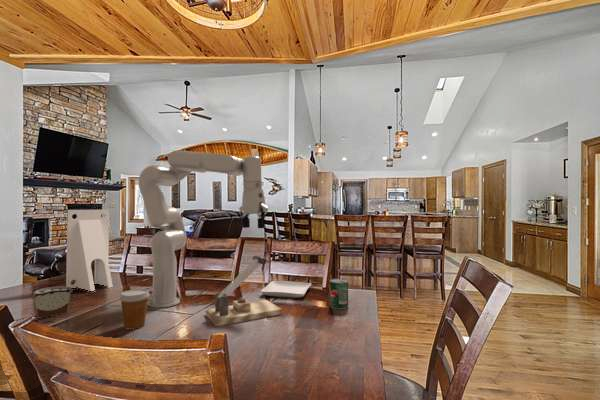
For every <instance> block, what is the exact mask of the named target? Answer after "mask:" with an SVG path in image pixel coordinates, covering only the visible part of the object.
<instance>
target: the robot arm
mask: <svg viewBox="0 0 600 400" xmlns="http://www.w3.org/2000/svg"><path fill="white" fill-rule="evenodd" d="M167 163H168V165H169V167H167V166H164V165H163V166H162V165H157V164H156V165H154V164H153V165H148V166H147V167H145V168H143V170H142V171H141V173H140V174H139V178H138V187H139V191H140V194H141V197H142V199H143V204H144V208H145V212H146V215H147V216H146V217H147V219H148V222H149V224H150V226H151V227H152V228H155V229H164V230H160V231H158V232H155V234H154V235H153V236H152V237H151V240H150V247H151V248H150V249H151V254H152V292H151V293H150V296H149V298H148V304H147V306H149V307H150V308H157V309H158V308H159V309H161V308H169V307H172V306H177V305H178V304H180V303H181V299H180V298H179V297H177V276H178V275H177V272H178V269H177V267H178V266H177V265H178V261H177V257H176V253H175V251H179V250H181V249H182V248H184V247H185V246H186V244H187V241H188V237H187V232H186V229H185V225H184V221H183V218H182V215H181V213H180V211H179V210H178V209H177V208H175V207H173V206H167V202H166V199H165V195H164V193H163V192H162V190H161V188H160V186H164V187H172V186H175V185H176V184H178V183H179V182H181V181H183V180H184V179H185V178H186V177H187V176H188V175H190V174H191V173H193V172H194V173H201V174H202V173H203V174H204V173H206V172H212V173H218V174H227V175H230V176H231V175H232V176H235V177H239V176H242V179H243V181H242V182H243V183H242V185H243V187H242V189H243V191H242V201H241V206H240V207H239V212H240V213H239V214H240V215H241V219H242V228H243V229H245V228H246V229H248V228H250V225H251V223H250V215H251V214H252V215H253V214H254V215H255V214H256V216H257V217H258V218H257V229H264V228H266V226H265V224H266V221H265V220H266V217H267V215H268V210H269V207H268V206H267V205H266V199H265V198H266V197H265V193H264V189H262V188H263V187H262V186H263V184H262V159H261V158H260V157H259V156H256V155H250V156H245V157H243V158H239V157H236V156H234V155H231V154H224V153H211V152H201V151H191V150H189V151H188V150H183V149H181V150H179V149H177V150H173V151H170V152H169V154H168V156H167Z"/></svg>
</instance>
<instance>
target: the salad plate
mask: <svg viewBox="0 0 600 400" xmlns="http://www.w3.org/2000/svg"><path fill="white" fill-rule="evenodd" d="M311 286H312V282H301V281H285V280H272V281H270V282H269V283H268V284H267V285H266V286H264V287H263V288H262V289H261V290H260V292H261V294H263V295H265V296H269V297H280V298H293V299H297V298H302V297H304V296H305V295H306V292H307V290H308V289H309V288H310V287H311Z"/></svg>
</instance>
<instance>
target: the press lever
mask: <svg viewBox="0 0 600 400" xmlns="http://www.w3.org/2000/svg"><path fill="white" fill-rule="evenodd" d="M266 263H267V259H266V257H265V256H264V255H263V254H260V253H259V255H254V256H252V261H251V262H250V264H248V265H247V266H246V267H245V268H244V269H243V270H242V271H241V272H240V273H238V275H237V276H236V277H235V278H234V279H233V280H232V281H231V282H230V283H229V284H228V285H227V286H226V287H225V288H224V289H223V290H222V291H221V293H220V294H219V295H218V296H217V297H218V298H219V299H220V296H227V295H228V297H230V295H231V294H232V293H233V292H234V291H235V290H237V288H238V287H240V285H241V284H243V283H244V282H245V280H246V279H248V277H249V276H250V275H251V274H252V273H253V272H254V271H256V270H257V268H258V267H259V266H260V265H265V264H266Z"/></svg>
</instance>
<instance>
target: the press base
mask: <svg viewBox="0 0 600 400" xmlns="http://www.w3.org/2000/svg"><path fill="white" fill-rule="evenodd" d="M221 292H222V291H221ZM221 292H215V295H214V296H215V302H214V308H209V309H208V308H206V309H205V315H206V317H208V319H210V321H211V322H212V323H213V324H214V325H215V327H220V326H225V325H229V324H236V323H240V322H246V321H251V320H258V319H263V318H269V317H272V316H273V317H274V316H279V315H282V311H283V310H282V308H281V307H279V306H278V305H276V304H274V303H273V302H271V301H269V300H268V299H266V300H265V299H264V300H258V301H253V302H251V301H248V300H247V299H245V298H244V297H239V298H238V300H237V299H236V300H232V305H229V296H228V295H227V296H220V299H219V298H218V297H217V296H218V295H219V294H220V293H221Z"/></svg>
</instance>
